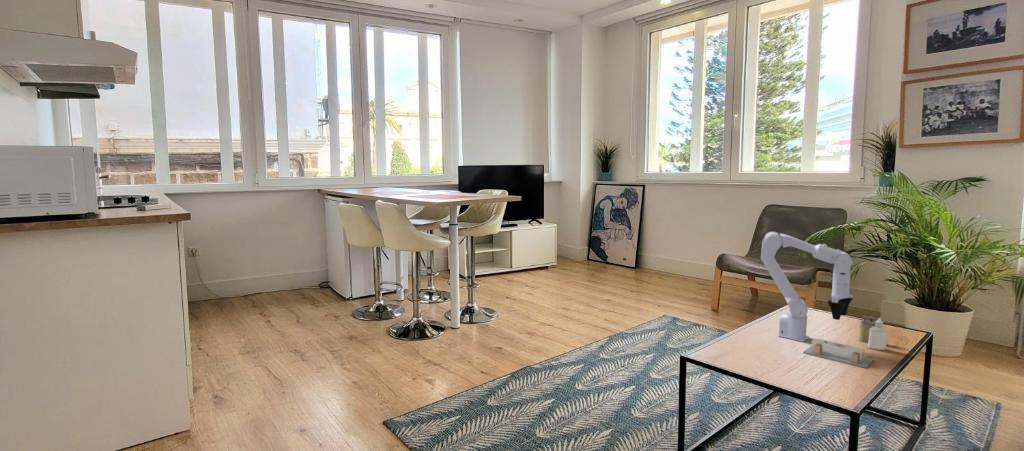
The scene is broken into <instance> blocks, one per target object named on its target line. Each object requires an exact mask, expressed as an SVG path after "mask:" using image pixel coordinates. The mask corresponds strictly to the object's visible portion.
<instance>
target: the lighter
mask: <svg viewBox="0 0 1024 451" xmlns="http://www.w3.org/2000/svg"><path fill="white" fill-rule="evenodd" d="M867 319H869V320H867ZM878 319H879V317H878V318H877V317H874V316H867V315H863V319H860V324H859V333H858V340H859V341H861V342H865V343H868V341H869V331H870V328H871V327H875V323H876V321H878Z"/></svg>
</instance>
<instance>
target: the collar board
mask: <svg viewBox="0 0 1024 451" xmlns="http://www.w3.org/2000/svg"><path fill="white" fill-rule="evenodd" d="M811 347H812V345H810V346H809V347H807V348H806V349H805V350H804V351H803V352H802V353H803V354H804V355H809V356H813V357H818V358H821V359H825V360H830V361H834V362H838V363H842V364H846V365H851V366H854V367H857V368H858V367H859V368H862V369H867V368H868V367H869V366H870V365H871V364H872V363H873V362H874V359H872V358H868V357H864V360H863V361H862V363H859V362H858V357H859V355H858V354H853V353H852V354H851V360H847V359H842V358H838V357H834V356H830V355H825V354H821V353H820V349H821V346H818V345H814V350H813V351H811Z"/></svg>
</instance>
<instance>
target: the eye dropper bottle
mask: <svg viewBox="0 0 1024 451" xmlns="http://www.w3.org/2000/svg"><path fill="white" fill-rule="evenodd" d="M888 336H889V335H888V330H887V329H886V328H884V322H883V321H882V318H881V317H878V321H876V323H875V327H871V328H870V331H869V341H868V342H867V347H868V348H869V349H870V350H871V349H872V350H877V351H886V350H887V345H888V344H887V343H888Z"/></svg>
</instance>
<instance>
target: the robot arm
mask: <svg viewBox="0 0 1024 451" xmlns="http://www.w3.org/2000/svg"><path fill="white" fill-rule="evenodd" d="M761 242H762V244H761V252H760V260H761V262H762V263H763V265H764V266H765V268H766V270H767V272H768V273H769V275H770V276H771V278H772V280H773V281H774V283H775V285H776V286H777V288H778V289H779V291H780V293H781V294H782V295H783V297H784V299H785V301H786V303H787V305H788V308H789V311H788V312H786V313H782V314H781V315H780V318H779V323H778V324H779V326H778V327H779V328H778V335H777V337H780V338H784V339H788V340H789V339H790V340H794V341H798V342H805V341H806V340H807V339H809V338H810V336H809V335H807V327H808V326H807V325H808V315H807V314H808V313H809V312H808V307H807V303H806V301H805V300H804V299H803V298H801V297H800V296H799V295H798V293H797V291H796V290H795V289H794V287H793V286H792V284H791V282H790V281H789V279H788V278H787V276H786V274H785V272H784V271H783V269H782V268H781V267H780V265H779V263H778V262H777V260H776V258H775V256H776V254H777V251H778V250H779V249H780V248H781V246H782V248H787V247H793V248H795V249H798V250H801V251H804V252H806V253H810V254H811V255H812V257H813V258H814V259H817V260H820V261H822V262H825V263H828V264H833V270H832V286H831V287H832V290H831V294H830V295H831V299H829V300H827V304H828V306H829V307H830V311H831V316H832V320H836V321H837V320H838V321H840V320H841V316H844V317H845V316H846V315H847V312H848V309H849V307H850V306H849V305H850V304H851V302H852V300H853V294H852V295H851V294H850V288H851V286H850V284H851V266H852V265H853V263H854V262H853V260H852V257H851V256H850V255H849V253H847V252H845V251H843V250H841V249H839V248H837V249H834V248H832V247H830V246H828V245H827V244H826V243H823V244H821V243H819V244H816V245H814V244H811V243H808V242H806V241H804V240H801V239H799V238H796V237H793V236H791V235H788V234H784V233H781V232H780V233H779V232H777V231H768V232H767V233H766V234H765V235H764V237H763V239H762V241H761Z"/></svg>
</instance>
